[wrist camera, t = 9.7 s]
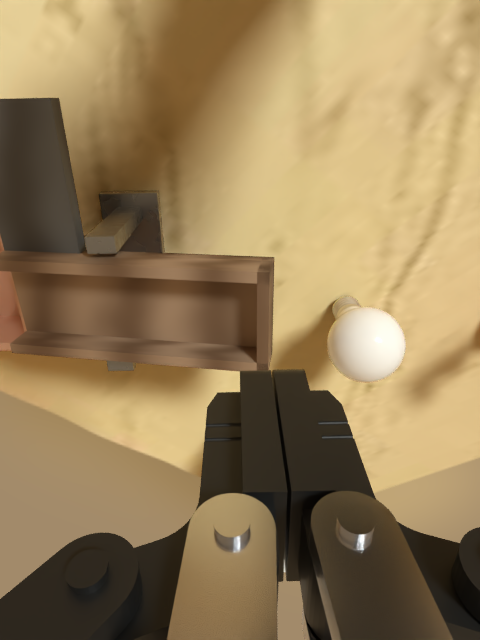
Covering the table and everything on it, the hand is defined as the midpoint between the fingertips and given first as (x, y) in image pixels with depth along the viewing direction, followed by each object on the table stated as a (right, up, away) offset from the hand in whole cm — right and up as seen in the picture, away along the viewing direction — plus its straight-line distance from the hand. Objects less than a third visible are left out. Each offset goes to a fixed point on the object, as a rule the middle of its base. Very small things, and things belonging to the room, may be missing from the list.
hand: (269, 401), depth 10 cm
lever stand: (-10, +7, +31) cm, 33 cm away
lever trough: (-8, +8, +21) cm, 24 cm away
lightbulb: (+10, +3, +33) cm, 35 cm away
